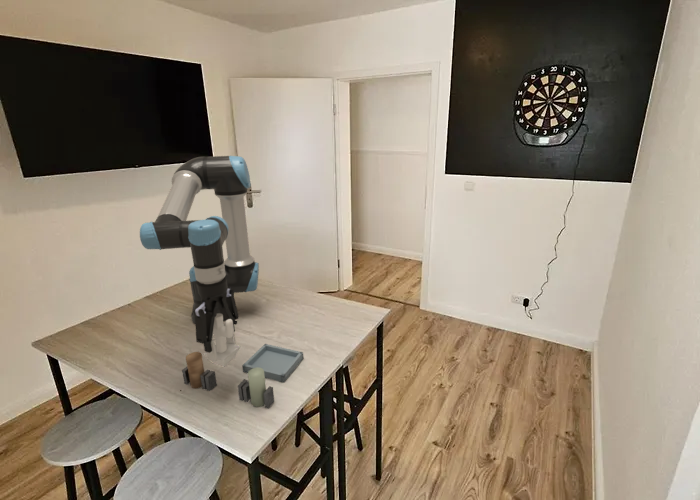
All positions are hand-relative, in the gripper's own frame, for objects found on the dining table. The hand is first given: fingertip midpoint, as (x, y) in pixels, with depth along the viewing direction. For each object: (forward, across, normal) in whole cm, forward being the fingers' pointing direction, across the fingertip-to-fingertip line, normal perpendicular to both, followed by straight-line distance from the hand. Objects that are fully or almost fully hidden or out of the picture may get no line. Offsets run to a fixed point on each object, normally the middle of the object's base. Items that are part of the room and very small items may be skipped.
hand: (222, 351), depth 104 cm
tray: (+14, +16, -6) cm, 22 cm away
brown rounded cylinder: (+14, 0, +11) cm, 18 cm away
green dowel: (+14, 0, -11) cm, 18 cm away
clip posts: (+14, 0, 0) cm, 14 cm away
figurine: (+3, 0, 0) cm, 3 cm away
